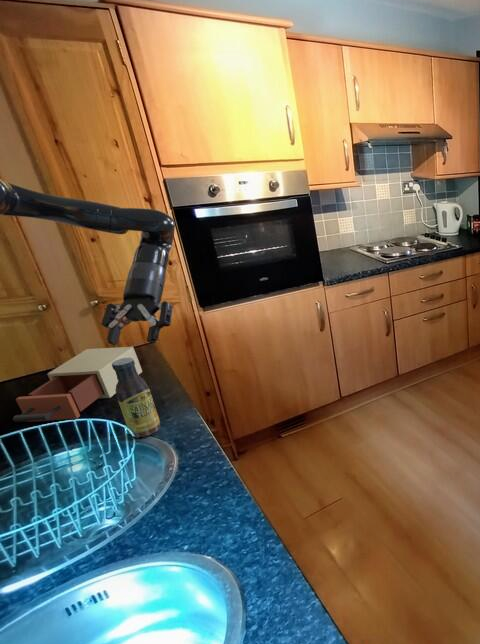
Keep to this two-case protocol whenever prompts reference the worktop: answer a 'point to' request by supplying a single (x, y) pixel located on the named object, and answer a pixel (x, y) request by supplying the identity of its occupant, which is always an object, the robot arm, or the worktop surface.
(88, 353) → the drawer cabinet
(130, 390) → the sauce bottle
